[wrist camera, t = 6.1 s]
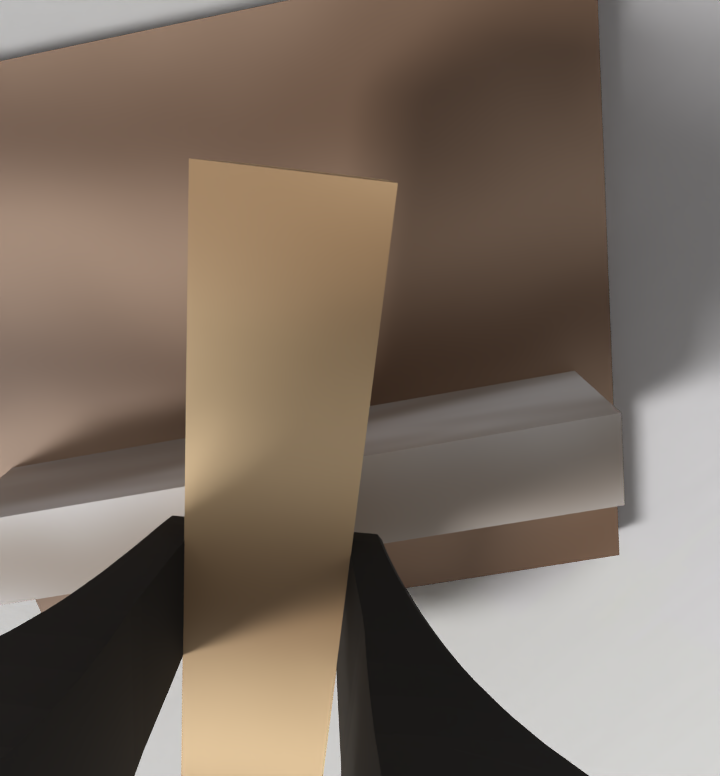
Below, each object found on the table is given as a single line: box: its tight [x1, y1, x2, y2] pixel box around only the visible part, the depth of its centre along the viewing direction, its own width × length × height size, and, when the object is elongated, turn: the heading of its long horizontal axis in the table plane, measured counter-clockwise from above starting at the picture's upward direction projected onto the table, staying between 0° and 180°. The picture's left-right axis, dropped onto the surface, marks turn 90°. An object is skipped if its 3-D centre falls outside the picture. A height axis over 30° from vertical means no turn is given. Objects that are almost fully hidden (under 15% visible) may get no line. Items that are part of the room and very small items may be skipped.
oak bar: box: [181, 158, 398, 776], centre depth 13 cm, size 16×3×3 cm, turn 174°
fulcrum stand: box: [0, 0, 625, 613], centre depth 15 cm, size 16×18×4 cm
